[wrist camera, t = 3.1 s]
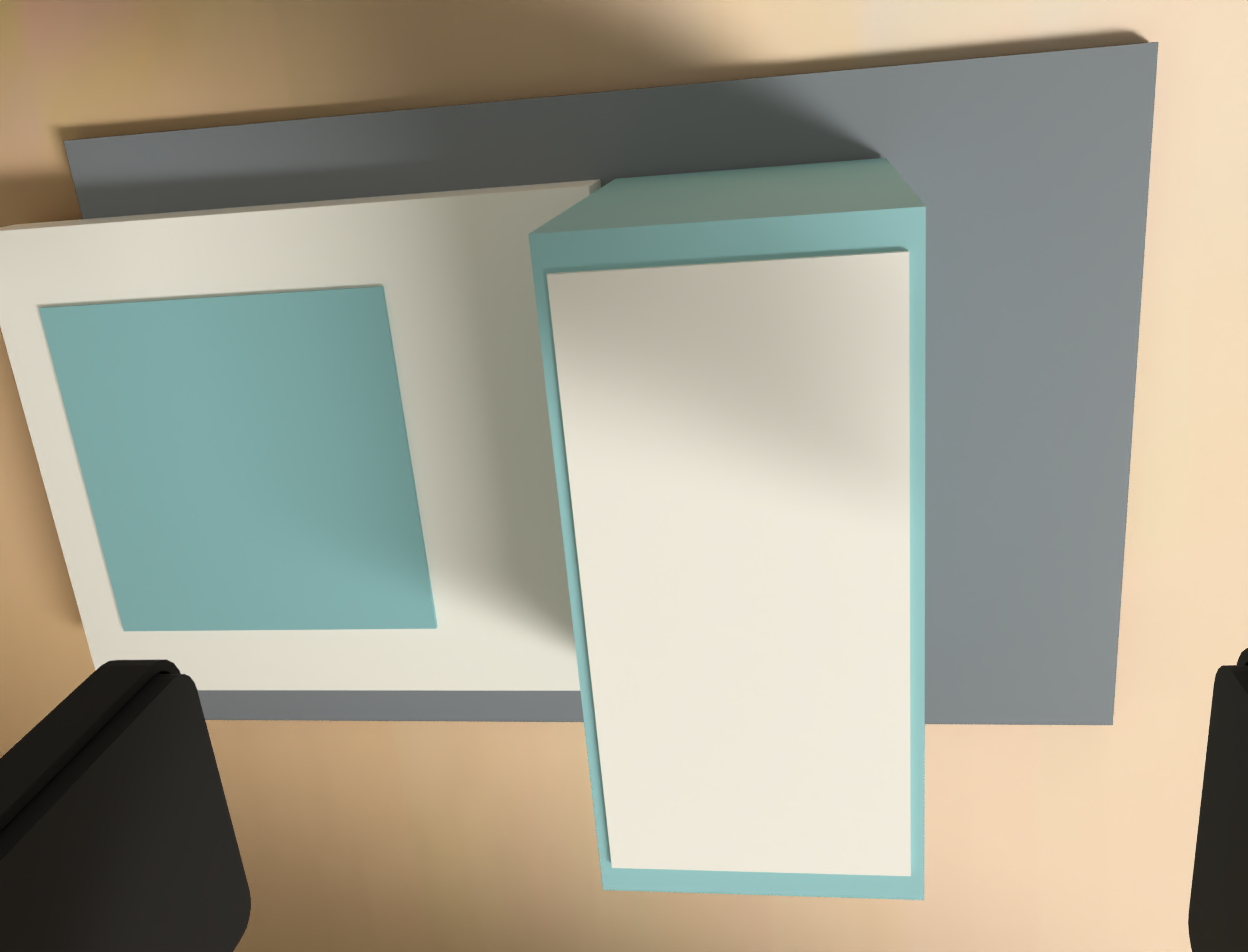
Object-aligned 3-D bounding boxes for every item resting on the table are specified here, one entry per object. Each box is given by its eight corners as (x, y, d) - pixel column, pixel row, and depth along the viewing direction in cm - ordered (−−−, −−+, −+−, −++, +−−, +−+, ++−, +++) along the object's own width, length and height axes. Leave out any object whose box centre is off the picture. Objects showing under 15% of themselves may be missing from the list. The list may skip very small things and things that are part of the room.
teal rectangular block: (885, 157, 20) (926, 206, 13) (890, 663, 23) (924, 904, 16) (615, 178, 21) (526, 235, 14) (657, 663, 24) (601, 894, 17)
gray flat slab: (1151, 42, 19) (1182, 40, 17) (1107, 714, 23) (1129, 762, 22) (8, 145, 23) (-53, 151, 21) (155, 710, 27) (114, 750, 25)
